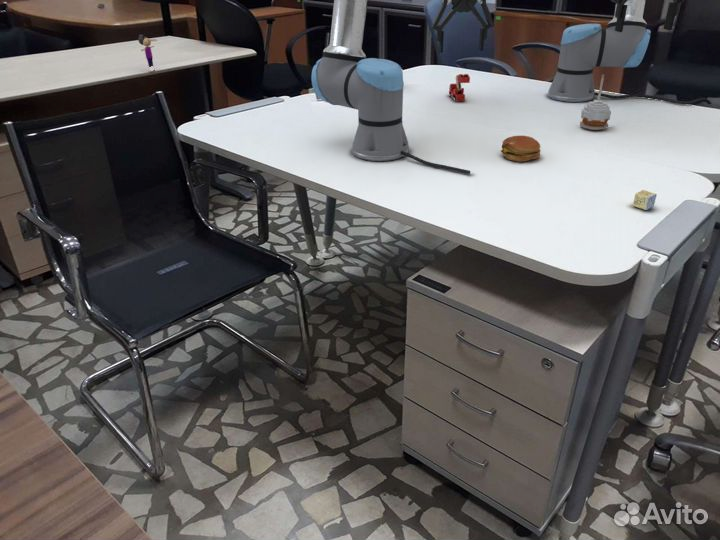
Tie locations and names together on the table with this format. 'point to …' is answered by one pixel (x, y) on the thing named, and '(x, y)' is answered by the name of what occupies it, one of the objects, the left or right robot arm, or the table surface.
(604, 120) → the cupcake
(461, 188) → the table surface
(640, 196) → the alphabet block
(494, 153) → the table surface
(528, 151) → the burger
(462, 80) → the toy fire truck
